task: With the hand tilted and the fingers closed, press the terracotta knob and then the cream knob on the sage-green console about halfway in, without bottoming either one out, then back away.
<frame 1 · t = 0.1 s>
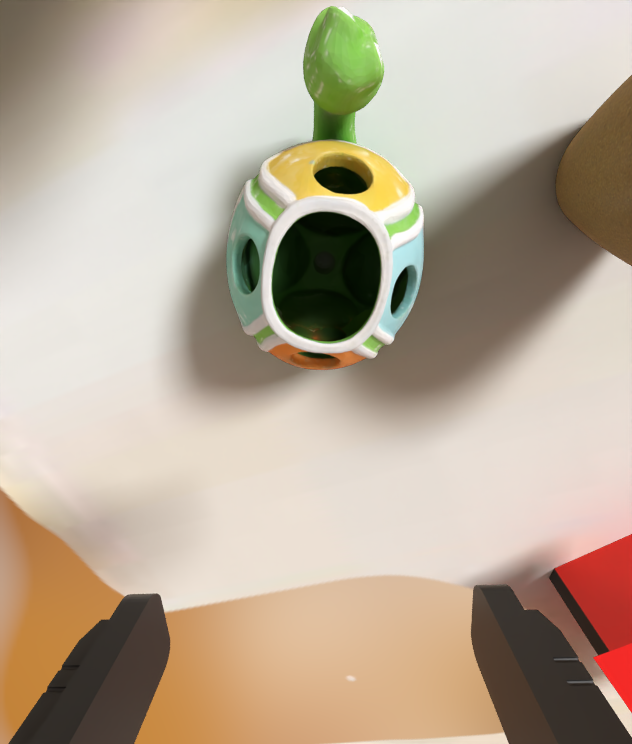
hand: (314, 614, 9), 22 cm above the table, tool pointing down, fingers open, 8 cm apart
plant pot: (603, 173, 25), on the table
turtle holder: (324, 237, 27), on the table
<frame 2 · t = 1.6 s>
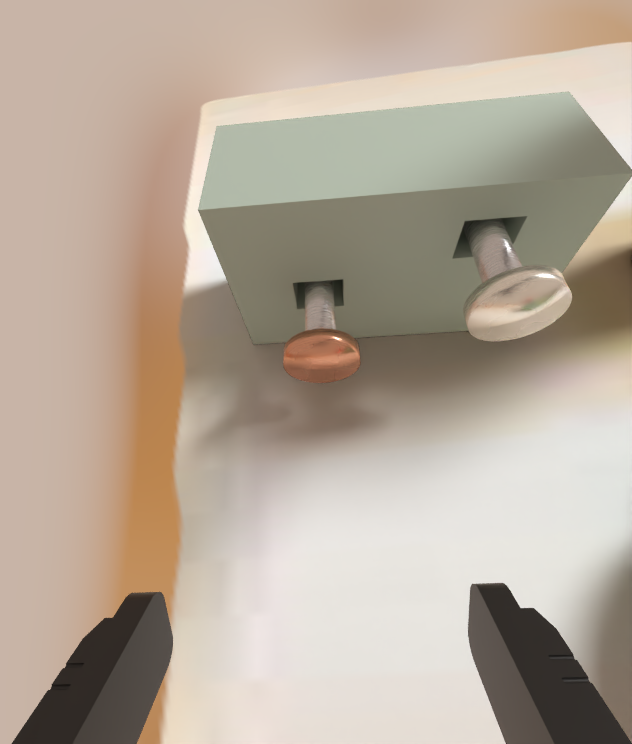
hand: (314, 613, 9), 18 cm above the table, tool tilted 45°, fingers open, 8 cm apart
plunger terracotta: (319, 295, 29), point 6 cm above the table, slide at 0.0 cm
plunger cream: (487, 239, 24), point 11 cm above the table, slide at 0.0 cm
console: (379, 296, 37), on the table
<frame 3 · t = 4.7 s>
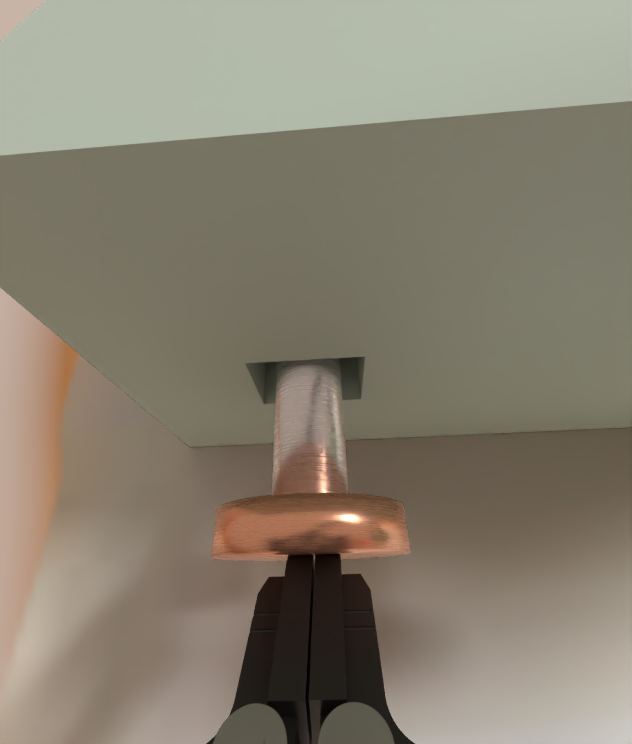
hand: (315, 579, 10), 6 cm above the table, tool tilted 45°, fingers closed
plunger terracotta: (308, 362, 13), point 6 cm above the table, slide at 1.0 cm, touching gripper
console: (417, 355, 21), on the table
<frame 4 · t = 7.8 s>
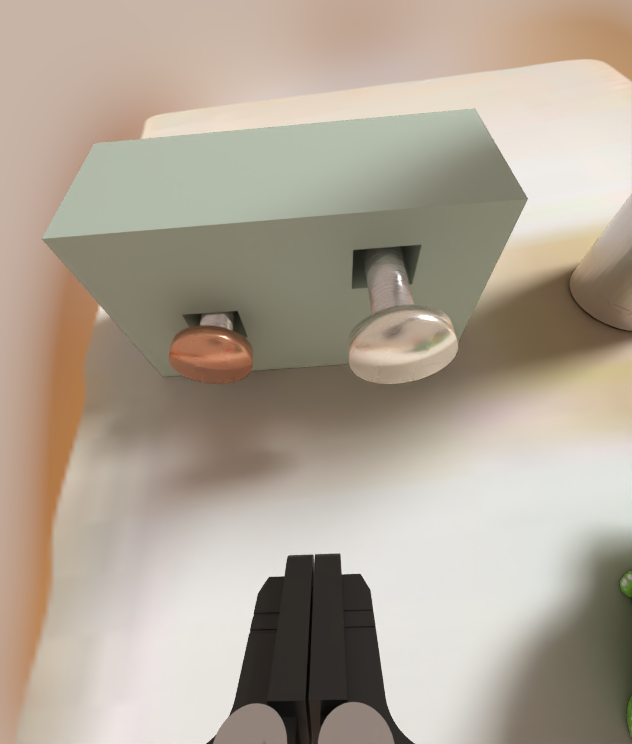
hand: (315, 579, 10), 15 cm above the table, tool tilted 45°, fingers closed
plunger terracotta: (221, 293, 28), point 6 cm above the table, slide at 3.4 cm
plunger cream: (384, 269, 22), point 11 cm above the table, slide at 0.0 cm
console: (303, 323, 34), on the table
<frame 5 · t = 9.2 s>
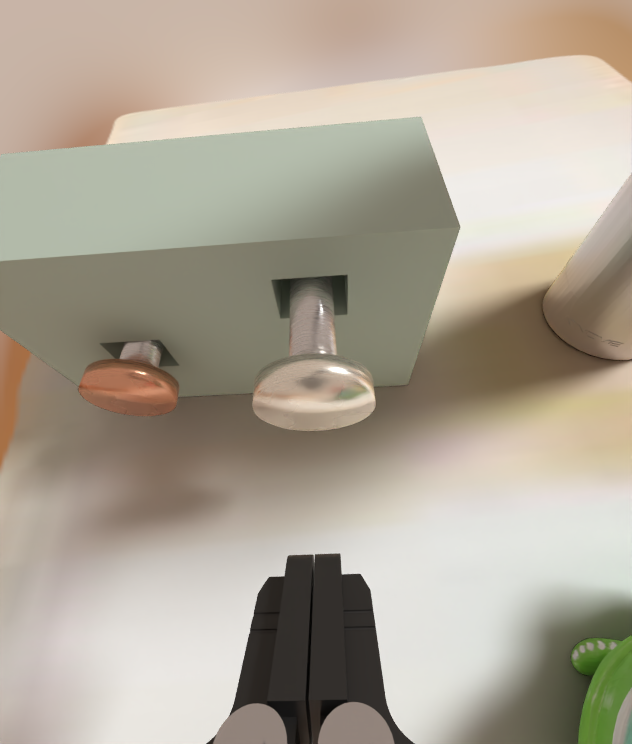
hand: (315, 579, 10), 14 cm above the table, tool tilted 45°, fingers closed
plunger terracotta: (151, 317, 26), point 6 cm above the table, slide at 3.4 cm
plunger cream: (311, 299, 19), point 11 cm above the table, slide at 0.0 cm
console: (254, 344, 32), on the table
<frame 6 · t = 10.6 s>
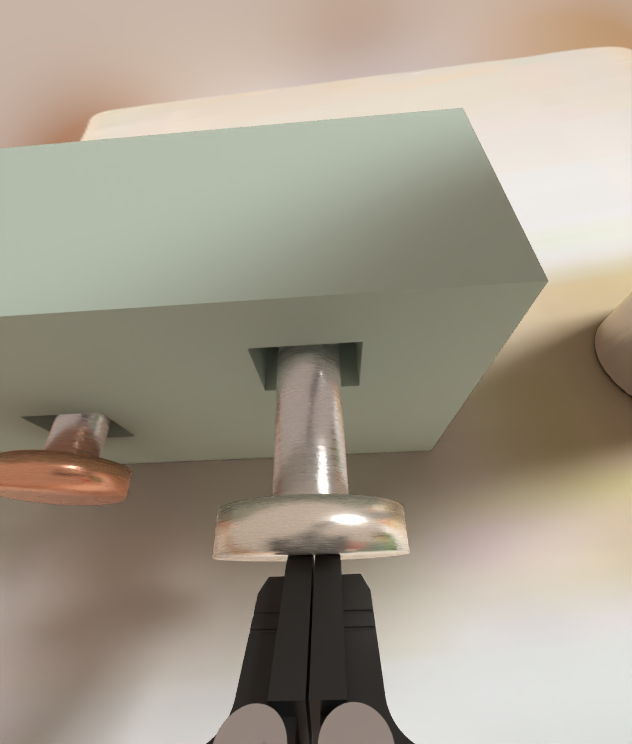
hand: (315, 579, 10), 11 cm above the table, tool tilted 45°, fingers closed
plunger terracotta: (100, 371, 20), point 7 cm above the table, slide at 3.4 cm
plunger cream: (308, 364, 14), point 11 cm above the table, slide at 0.3 cm, touching gripper
console: (239, 391, 26), on the table
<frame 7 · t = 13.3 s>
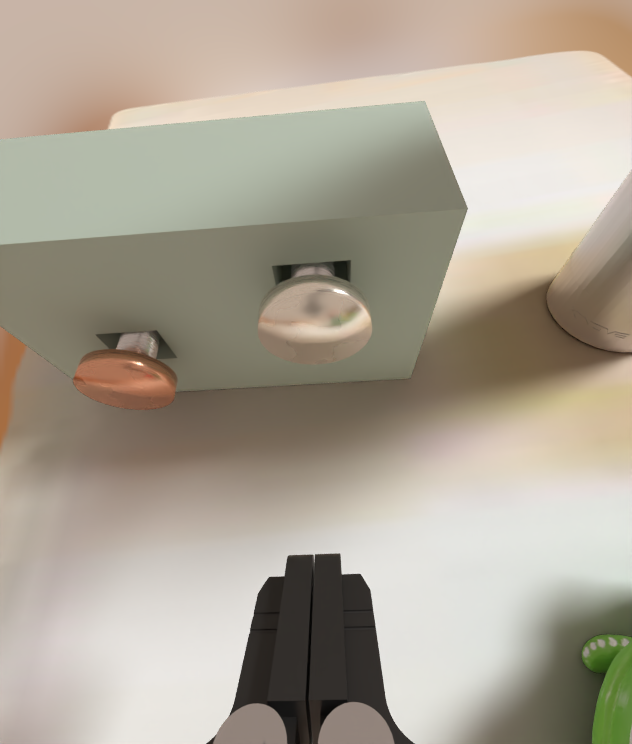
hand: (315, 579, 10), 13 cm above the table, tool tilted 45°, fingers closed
plunger terracotta: (149, 308, 25), point 7 cm above the table, slide at 3.4 cm
plunger cream: (312, 244, 21), point 11 cm above the table, slide at 3.4 cm
console: (253, 337, 31), on the table
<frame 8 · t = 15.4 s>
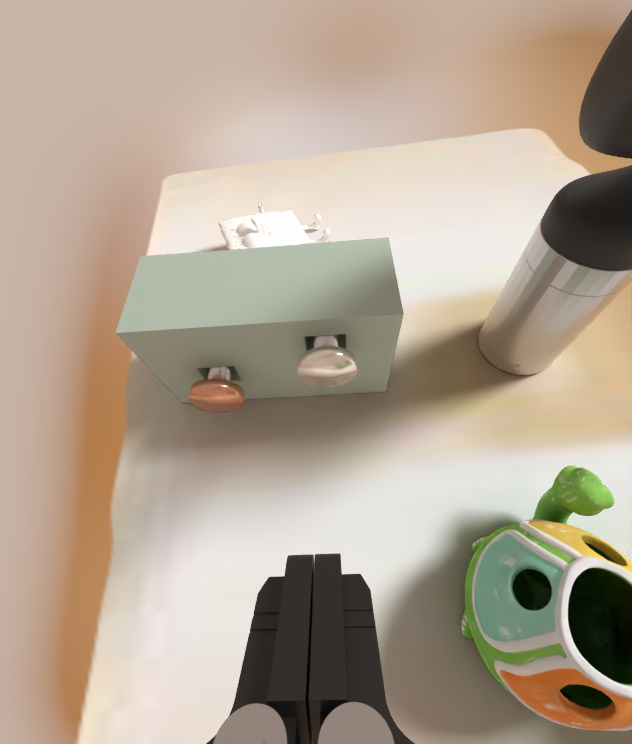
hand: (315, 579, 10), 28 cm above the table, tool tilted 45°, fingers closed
plunger terracotta: (222, 349, 41), point 6 cm above the table, slide at 3.4 cm
plunger cream: (324, 318, 36), point 11 cm above the table, slide at 3.4 cm
cartoon character: (280, 252, 58), on the table
turtle holder: (525, 588, 33), on the table
console: (283, 363, 47), on the table
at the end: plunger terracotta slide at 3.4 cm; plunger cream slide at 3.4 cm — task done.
